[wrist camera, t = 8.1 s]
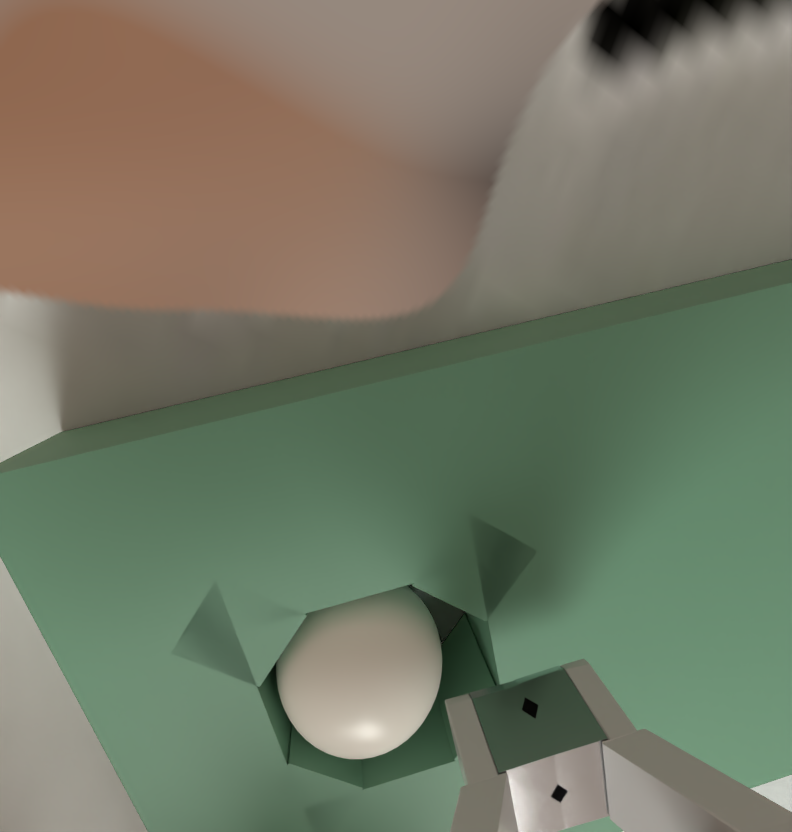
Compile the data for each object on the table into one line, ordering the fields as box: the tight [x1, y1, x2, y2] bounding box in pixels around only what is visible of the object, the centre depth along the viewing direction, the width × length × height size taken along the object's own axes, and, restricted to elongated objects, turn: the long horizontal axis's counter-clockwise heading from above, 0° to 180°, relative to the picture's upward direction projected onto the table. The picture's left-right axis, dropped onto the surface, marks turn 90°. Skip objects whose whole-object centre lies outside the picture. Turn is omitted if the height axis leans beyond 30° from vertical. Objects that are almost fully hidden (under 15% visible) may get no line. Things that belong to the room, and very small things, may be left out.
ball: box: [276, 586, 442, 759], centre depth 11 cm, size 4×4×4 cm
